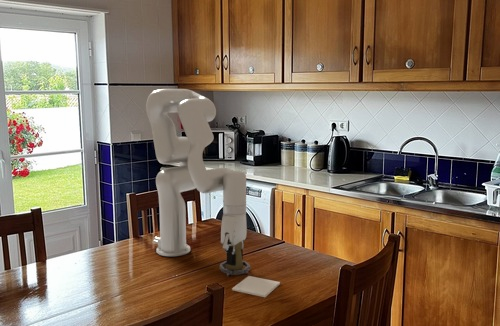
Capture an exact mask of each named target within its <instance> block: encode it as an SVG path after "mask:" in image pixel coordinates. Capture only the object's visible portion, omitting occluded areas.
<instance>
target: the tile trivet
mask: <svg viewBox="0 0 500 326" xmlns="http://www.w3.org/2000/svg"><path fill="white" fill-rule="evenodd" d="M280 285H281V281H276V280H272V279H267V278H262V277H256V276H251V275H248V276H247V277H245V278H244V279H242V280H241V281H240V282H238V283H237V284H235V286H233V287H232V288H231V291H233V292H234V291H235V292H239V293H242V294H249V295H253V296H257V297H262V298H266V297H267V296H268V295H270V293H272V291H274V290H275V289H277V287H279V286H280Z"/></svg>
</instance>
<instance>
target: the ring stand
mask: <svg viewBox="0 0 500 326" xmlns="http://www.w3.org/2000/svg"><path fill="white" fill-rule="evenodd" d="M242 262H243V269H238V270H231V269H226V266H227V260H225V261H223V262H221V263H220V264H219V270H220V271H221V273H224V274H226V277H227V278H228V277H230V276H231V275H230V274H233V275H232V276H235V275H234V274H239V275H242V274H245V275H249V271H250V270H251V265H250V263H249V262H248V261H245V260H242Z"/></svg>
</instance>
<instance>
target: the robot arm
mask: <svg viewBox="0 0 500 326" xmlns="http://www.w3.org/2000/svg"><path fill="white" fill-rule="evenodd" d="M145 111H146V116H147V118H148V121H149V124H150V127H151V133H152V138H153V139H152V140H153V145H154V150H155V157H156V160H157V161H158V162H159V163H160V164H162V165H171V164H178V163H179V166H173V167H167V168H163V169H162V170H160V171H159V172H158V173H157V175H156V177H155V185H156V189H157V195H158V204H159V205H158V206H159V235H160V236H155V237H154V239H153V241H152V244H155V245H157V247H156V249H155V251H156V253H157V254H158V255H159V256H163V257H180V256H184V255H187V254H189V253H190V252H191V246H190V245H188V244H187V226H186V225H187V222H186V221H187V219H186V217H187V216H186V214H187V213H186V203H185V200H184V198H183V196H182V194H181V193H183V192H187V191H193V190H195V189H196V190H197V191H198V192H199V193H201V194H211V193H215V192H219V191H221V192H222V202H223V203H222V205H223V207H222V210H223V211H222V213H223V214H222V219H221V228H220V229H221V230H220V243H221V244H222V249H223V250H224V251H225V254H226V261H227V264H228V265H233V266H235V265H236V254H235V245H236V244H238V243H239V242H241V241H242V244H243V246H242V249H241V254H242V261H244V251H243V249H244V244H245V240H246V238H247V231H248V229H247V227H248V226H247V225H248V224H247V215H246V214H247V175H246V173H245V172H244V171H240V170H232V169H230V168H227V167H218V168H211V169H207V168H206V166H205V162H204V160H203V153H204V150H205V148H206V147H207V146H209V145H210V144H211V143H212V142H213V141H214V134H213V132H212V129H211V127H210V124H209V122H212V121H213V120H214V119H215V118H216V115H217V109H216V105H215V103H214V101H212V100H210V99H209V98H208V97H206V96H204V95H201V93H198V92H196V91H193V90H191V89H188V88H161V89H160V88H159V89H156V90H153V91H152V92H151V93H149V94H148V97H147V100H146V103H145ZM170 113H177V116H178V118H179V120H180V123H181V125H182V128H183V131H184V133H185V135H186V136H178V135H177V129H176V125H175V123H174V121H173V119H172V118H171V116H169V115H168V114H170ZM229 242H231V244H229ZM229 246H232V249H231V248H230V247H229Z"/></svg>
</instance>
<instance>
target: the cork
mask: <svg viewBox="0 0 500 326" xmlns="http://www.w3.org/2000/svg"><path fill="white" fill-rule="evenodd" d="M229 244H231V242H229ZM242 246H244V243H243V244H242V241H241V242H239V243H238V244H236V245H235V254H236V265H235V266H233V265H228V264H227V265H226V266H225V269H231V270H238V269H244V265H243V262H242V261H243V260H242V254H241V249H242ZM229 247H230V248H231V249H232V246H229ZM238 275H240V274H234V275H233V274H230V276H238Z"/></svg>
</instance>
